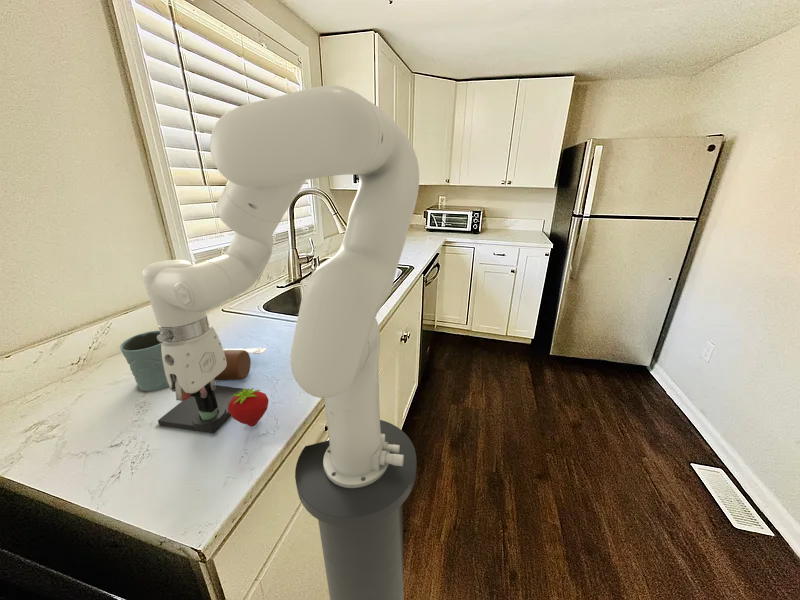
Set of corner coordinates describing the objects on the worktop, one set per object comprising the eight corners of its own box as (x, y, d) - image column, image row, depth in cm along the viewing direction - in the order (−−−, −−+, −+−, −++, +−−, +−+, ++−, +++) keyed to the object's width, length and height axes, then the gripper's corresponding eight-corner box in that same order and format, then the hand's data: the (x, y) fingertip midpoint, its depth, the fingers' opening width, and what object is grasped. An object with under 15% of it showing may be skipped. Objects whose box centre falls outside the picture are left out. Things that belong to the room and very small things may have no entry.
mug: (258, 374, 90) (224, 374, 90) (258, 346, 91) (225, 347, 91) (237, 383, 78) (198, 383, 78) (237, 351, 79) (198, 351, 79)
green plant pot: (171, 366, 89) (159, 327, 85) (191, 377, 84) (179, 336, 80) (127, 385, 81) (112, 343, 77) (146, 399, 76) (130, 354, 72)
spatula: (270, 353, 95) (269, 345, 94) (262, 364, 90) (261, 355, 89) (175, 353, 95) (172, 345, 94) (161, 364, 90) (159, 355, 89)
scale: (256, 394, 77) (254, 383, 76) (214, 438, 64) (211, 426, 63) (205, 388, 80) (202, 378, 79) (155, 429, 67) (151, 417, 66)
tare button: (221, 411, 68) (219, 405, 67) (210, 421, 65) (208, 415, 65) (208, 409, 68) (206, 403, 68) (197, 419, 66) (195, 413, 65)
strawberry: (272, 431, 66) (264, 390, 62) (231, 440, 64) (220, 398, 60) (272, 412, 71) (265, 373, 68) (235, 420, 69) (225, 380, 65)
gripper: (168, 349, 52) (196, 439, 59) (230, 313, 66) (247, 388, 72) (129, 346, 53) (161, 434, 60) (198, 311, 67) (218, 385, 74)
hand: (208, 409), depth 66 cm, fingers closed
